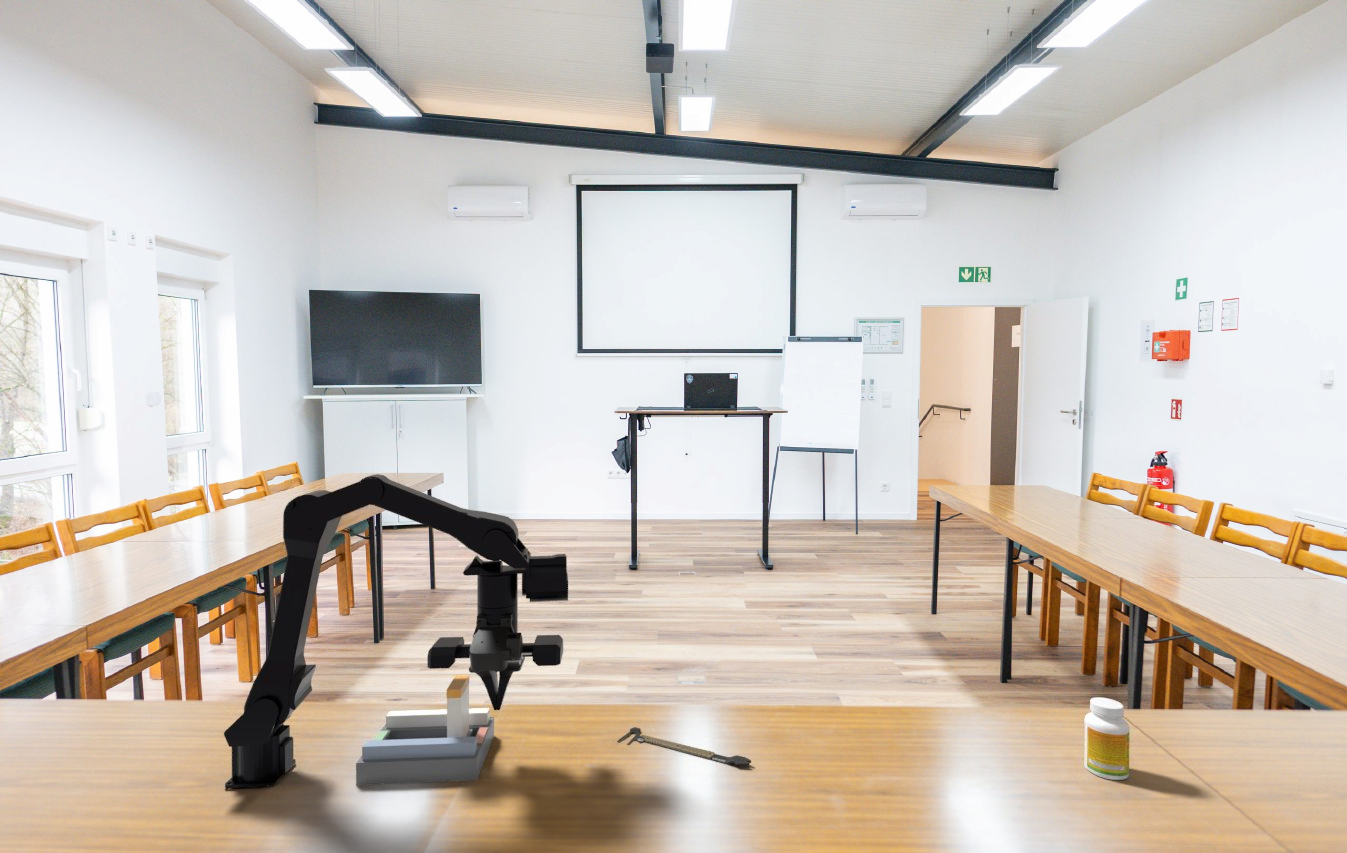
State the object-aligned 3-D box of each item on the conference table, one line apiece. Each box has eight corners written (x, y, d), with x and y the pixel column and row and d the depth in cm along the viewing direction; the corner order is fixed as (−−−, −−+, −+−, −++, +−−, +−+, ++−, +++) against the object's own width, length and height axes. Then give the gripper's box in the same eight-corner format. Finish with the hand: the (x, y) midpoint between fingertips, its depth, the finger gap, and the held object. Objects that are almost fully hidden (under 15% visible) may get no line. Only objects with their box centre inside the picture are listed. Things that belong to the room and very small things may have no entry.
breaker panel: (356, 784, 92) (355, 749, 92) (388, 739, 105) (388, 708, 105) (476, 780, 93) (476, 745, 93) (494, 735, 106) (494, 705, 106)
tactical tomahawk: (608, 753, 103) (607, 746, 103) (633, 732, 108) (632, 725, 108) (733, 790, 92) (733, 782, 92) (753, 764, 98) (753, 757, 98)
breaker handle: (443, 754, 96) (442, 689, 96) (452, 736, 102) (452, 675, 102) (464, 753, 97) (464, 689, 97) (472, 736, 102) (472, 674, 102)
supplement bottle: (1136, 783, 93) (1137, 712, 92) (1092, 778, 94) (1093, 708, 94) (1118, 763, 98) (1119, 696, 98) (1077, 759, 99) (1078, 693, 99)
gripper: (415, 621, 91) (415, 737, 91) (557, 618, 92) (556, 732, 92) (437, 598, 102) (437, 702, 102) (563, 596, 103) (563, 698, 103)
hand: (497, 709), depth 100 cm, fingers closed
